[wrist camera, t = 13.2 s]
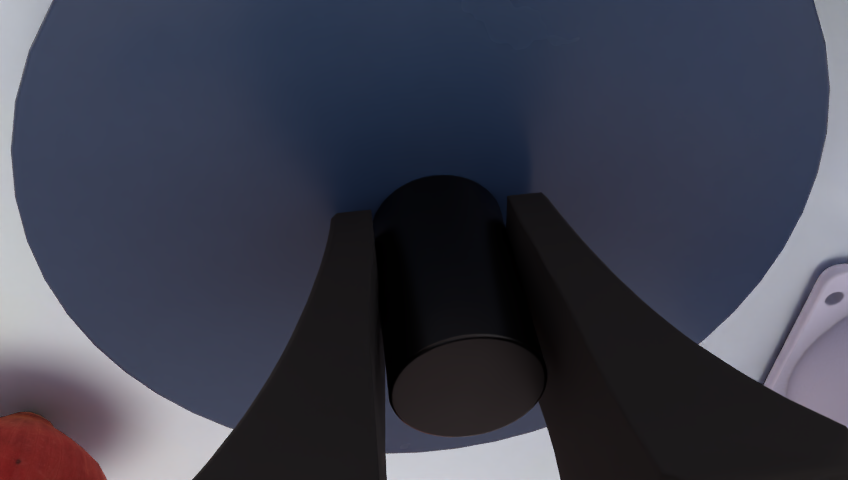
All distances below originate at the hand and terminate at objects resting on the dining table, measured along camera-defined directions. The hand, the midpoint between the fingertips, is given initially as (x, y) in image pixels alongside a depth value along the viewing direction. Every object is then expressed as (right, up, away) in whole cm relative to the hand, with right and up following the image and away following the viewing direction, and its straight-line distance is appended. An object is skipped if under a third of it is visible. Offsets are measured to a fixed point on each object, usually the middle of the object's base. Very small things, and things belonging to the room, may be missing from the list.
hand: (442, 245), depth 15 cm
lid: (0, +1, +1) cm, 1 cm away
